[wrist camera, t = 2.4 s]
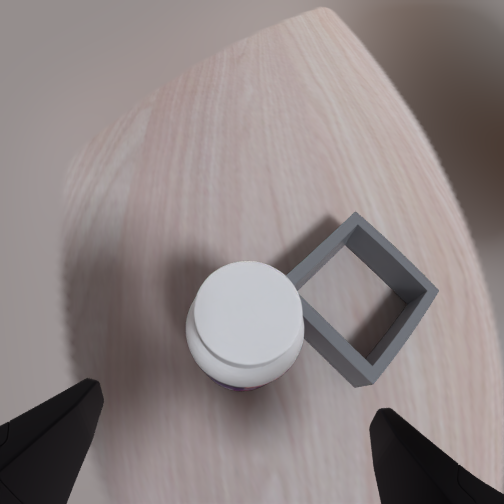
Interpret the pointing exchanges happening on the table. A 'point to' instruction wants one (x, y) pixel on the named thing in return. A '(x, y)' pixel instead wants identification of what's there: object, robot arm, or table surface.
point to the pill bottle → (245, 325)
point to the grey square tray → (391, 272)
